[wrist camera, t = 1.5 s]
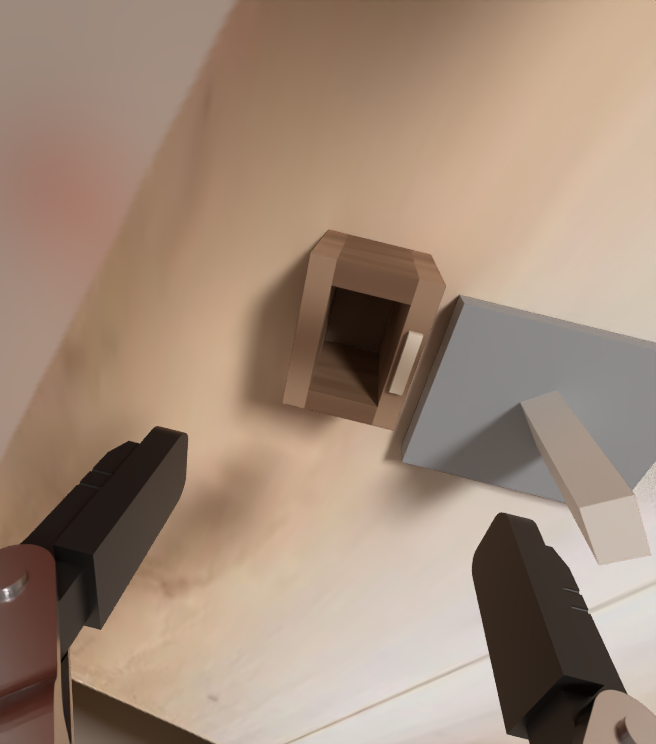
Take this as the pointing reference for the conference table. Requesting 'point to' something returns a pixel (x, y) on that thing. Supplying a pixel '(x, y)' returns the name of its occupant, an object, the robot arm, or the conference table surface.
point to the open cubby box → (352, 365)
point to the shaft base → (522, 370)
